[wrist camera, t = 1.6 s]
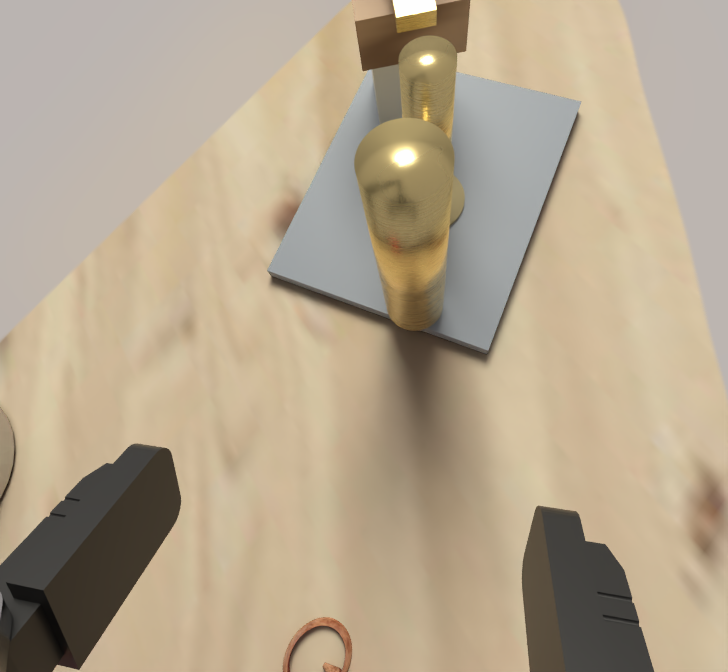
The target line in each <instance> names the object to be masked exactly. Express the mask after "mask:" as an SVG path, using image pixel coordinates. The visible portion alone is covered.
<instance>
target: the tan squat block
mask: <svg viewBox="0 0 728 672" xmlns="http://www.w3.org/2000/svg"><path fill="white" fill-rule="evenodd" d="M435 4H436V9H437V20H436V26H431V27H426V28H421V29H416V30H411V31H405V32H400V33H397V28H396V23H395V17H394V12H393V6H392V1H391V0H352V5H353V12H354V19H355V25H356V31H357V38H358V44H359V51H360V57H361V63H362V70H363V71H366V70H372V69H377V68H382V67H387V66H392V65H397V64H399V55H400V52H401V51H402V49H403V48H404V46H405V45H406V44H408V43H409V42H410V41H412V40H414V39H416V38H419V37H422V36H438V37H442V38H444V39H446V40H448V41H449V42H450V43H451V44H452V45H453V46H454V47H455V49H456V52H457V53H459V52H464V51H466V45H467V33H468V21H469V9H470V0H435Z"/></svg>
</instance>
